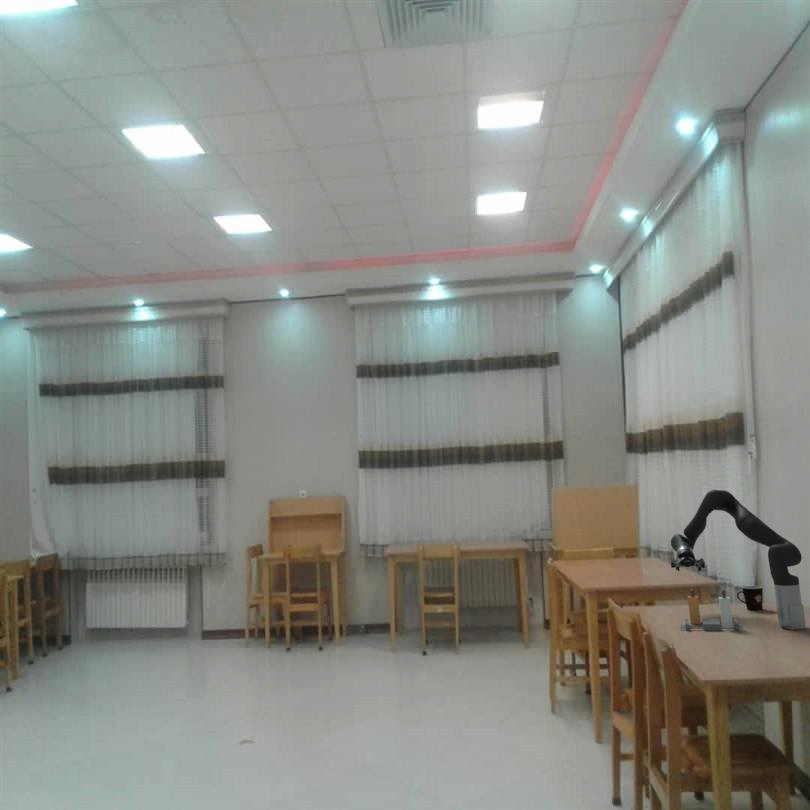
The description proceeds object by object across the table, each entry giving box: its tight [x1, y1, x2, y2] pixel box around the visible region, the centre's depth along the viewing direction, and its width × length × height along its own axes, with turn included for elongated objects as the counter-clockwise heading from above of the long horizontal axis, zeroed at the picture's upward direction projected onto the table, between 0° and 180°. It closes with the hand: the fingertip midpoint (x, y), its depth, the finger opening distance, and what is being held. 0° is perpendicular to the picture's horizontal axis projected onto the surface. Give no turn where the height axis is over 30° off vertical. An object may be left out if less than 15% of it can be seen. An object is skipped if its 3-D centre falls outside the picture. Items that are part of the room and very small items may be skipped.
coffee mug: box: [736, 585, 764, 612], centre depth 346 cm, size 12×9×10 cm
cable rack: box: [680, 618, 745, 632], centre depth 310 cm, size 24×12×4 cm, turn 70°
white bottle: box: [718, 589, 734, 629], centre depth 309 cm, size 4×4×15 cm
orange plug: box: [687, 588, 702, 625], centre depth 322 cm, size 4×4×15 cm
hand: (688, 569), depth 332 cm, fingers open, 8 cm apart
